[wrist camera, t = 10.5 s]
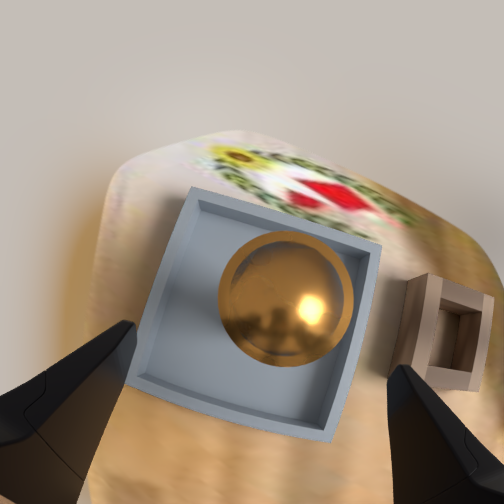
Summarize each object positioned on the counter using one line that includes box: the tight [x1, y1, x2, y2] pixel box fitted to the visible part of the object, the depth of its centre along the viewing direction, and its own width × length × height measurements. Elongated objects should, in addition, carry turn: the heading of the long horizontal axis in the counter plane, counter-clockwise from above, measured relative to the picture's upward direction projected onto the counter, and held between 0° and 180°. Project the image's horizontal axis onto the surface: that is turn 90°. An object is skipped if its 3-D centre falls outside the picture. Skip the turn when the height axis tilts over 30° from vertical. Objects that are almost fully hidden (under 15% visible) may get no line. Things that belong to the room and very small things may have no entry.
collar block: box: [387, 273, 494, 392], centre depth 19 cm, size 8×8×3 cm
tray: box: [125, 186, 382, 443], centre depth 20 cm, size 14×14×2 cm
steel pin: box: [218, 231, 354, 367], centre depth 14 cm, size 4×4×12 cm
